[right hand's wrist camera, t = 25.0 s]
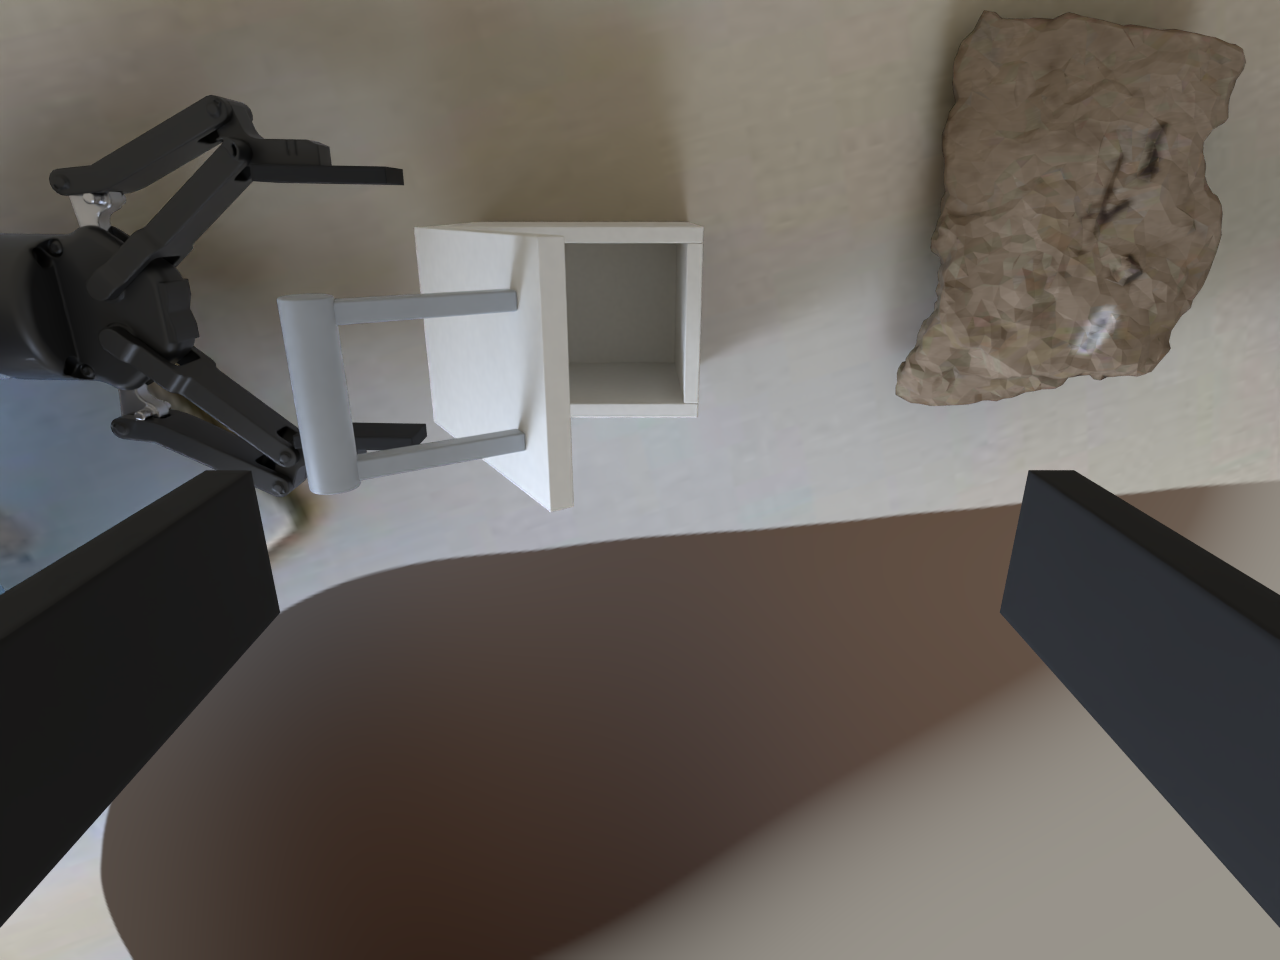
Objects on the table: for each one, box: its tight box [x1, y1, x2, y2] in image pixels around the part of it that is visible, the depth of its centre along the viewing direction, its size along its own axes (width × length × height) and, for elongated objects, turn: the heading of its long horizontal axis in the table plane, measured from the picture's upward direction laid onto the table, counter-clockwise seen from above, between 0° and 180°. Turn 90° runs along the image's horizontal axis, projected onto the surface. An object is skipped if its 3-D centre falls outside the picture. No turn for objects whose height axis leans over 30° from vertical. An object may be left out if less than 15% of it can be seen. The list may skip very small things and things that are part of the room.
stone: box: [896, 11, 1246, 406], centre depth 41 cm, size 21×15×6 cm
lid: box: [277, 227, 574, 512], centre depth 27 cm, size 13×9×8 cm
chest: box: [428, 222, 704, 417], centre depth 40 cm, size 13×9×11 cm
